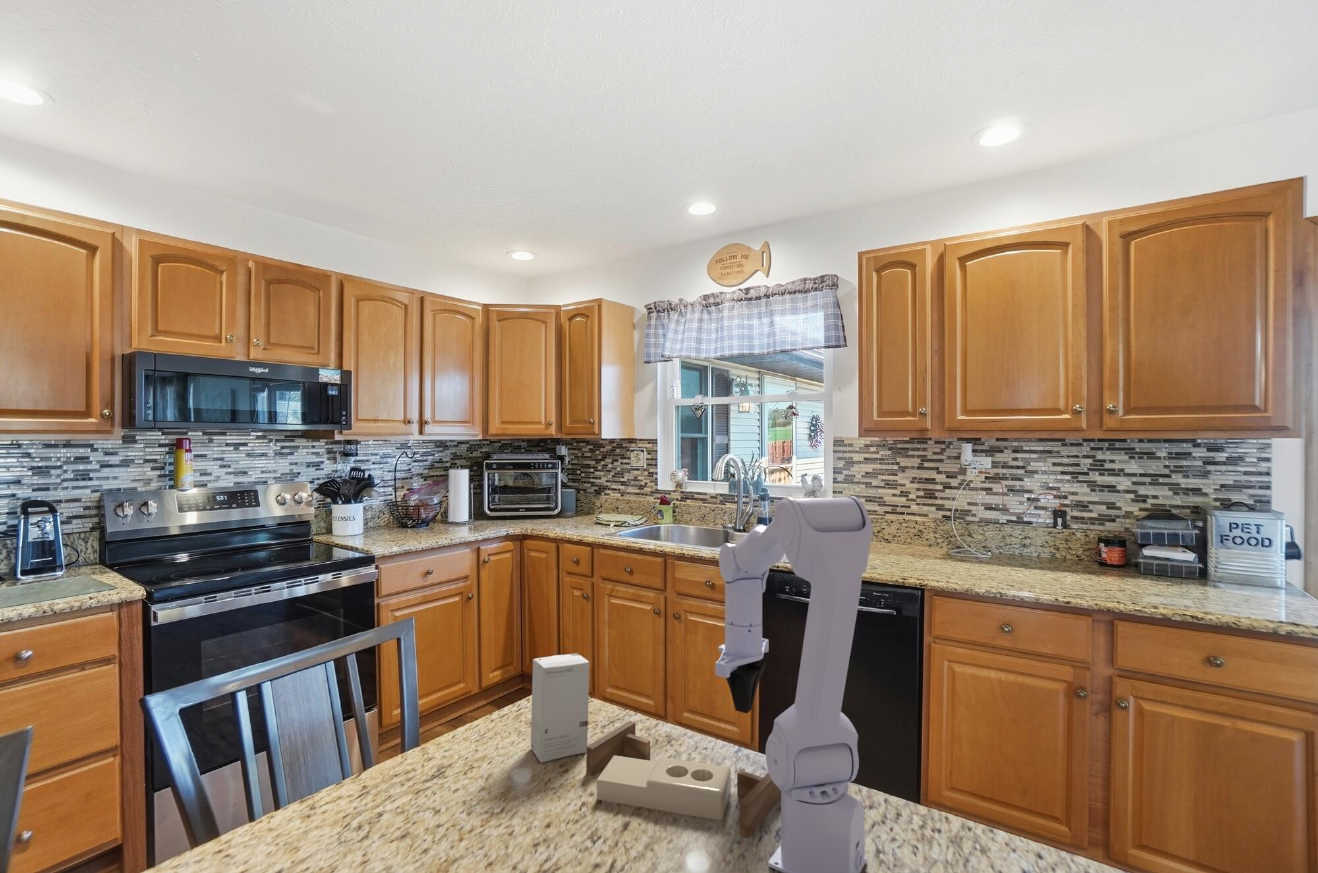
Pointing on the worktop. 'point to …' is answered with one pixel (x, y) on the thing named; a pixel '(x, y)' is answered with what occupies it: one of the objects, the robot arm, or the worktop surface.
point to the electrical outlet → (667, 785)
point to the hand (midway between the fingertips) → (743, 710)
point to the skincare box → (559, 706)
